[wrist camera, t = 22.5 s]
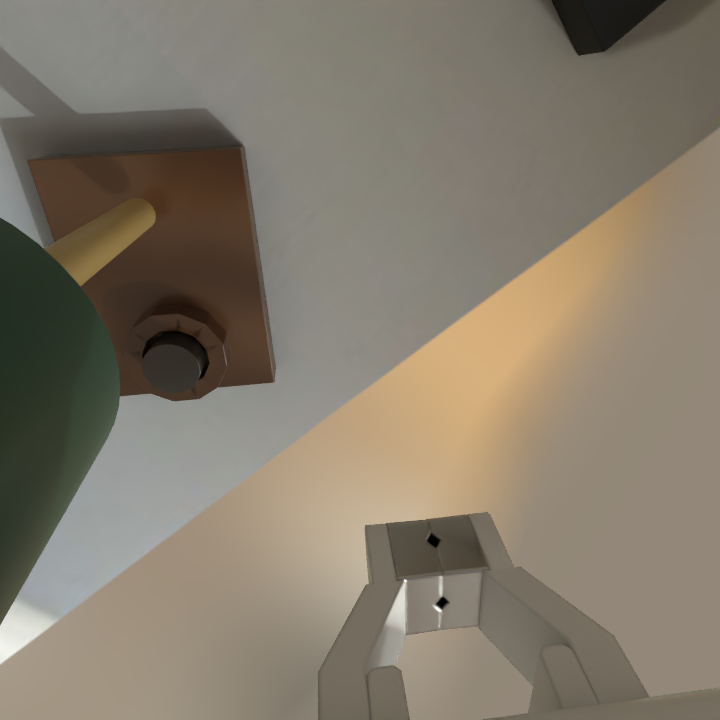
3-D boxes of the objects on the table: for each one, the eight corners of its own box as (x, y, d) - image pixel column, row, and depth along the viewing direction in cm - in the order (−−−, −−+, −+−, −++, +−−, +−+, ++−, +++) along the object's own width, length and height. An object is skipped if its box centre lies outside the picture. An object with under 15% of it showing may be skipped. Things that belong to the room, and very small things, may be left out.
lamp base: (276, 368, 38) (273, 395, 35) (117, 382, 37) (98, 411, 34) (244, 145, 30) (236, 151, 27) (44, 156, 30) (9, 163, 26)
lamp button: (209, 377, 34) (205, 390, 32) (156, 382, 33) (149, 395, 32) (199, 330, 32) (194, 341, 30) (143, 334, 32) (135, 346, 30)
